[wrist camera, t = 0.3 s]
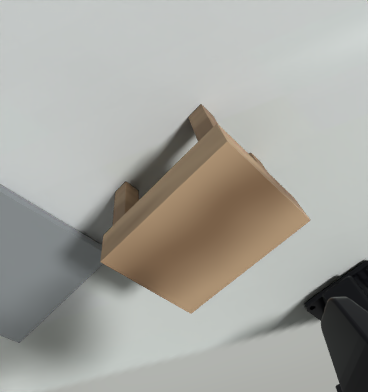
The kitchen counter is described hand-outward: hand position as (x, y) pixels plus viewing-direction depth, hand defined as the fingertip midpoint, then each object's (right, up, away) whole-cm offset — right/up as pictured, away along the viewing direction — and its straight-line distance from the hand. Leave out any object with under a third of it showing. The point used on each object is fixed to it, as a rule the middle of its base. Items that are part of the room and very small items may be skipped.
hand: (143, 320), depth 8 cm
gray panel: (-12, -1, +15) cm, 19 cm away
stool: (+1, +4, +13) cm, 14 cm away
